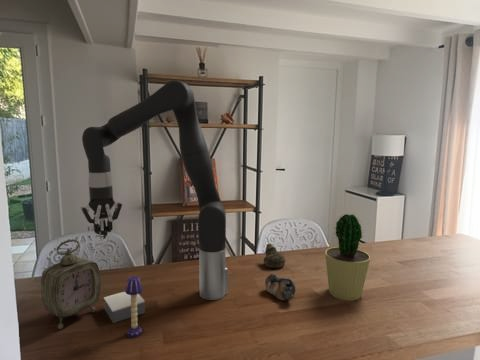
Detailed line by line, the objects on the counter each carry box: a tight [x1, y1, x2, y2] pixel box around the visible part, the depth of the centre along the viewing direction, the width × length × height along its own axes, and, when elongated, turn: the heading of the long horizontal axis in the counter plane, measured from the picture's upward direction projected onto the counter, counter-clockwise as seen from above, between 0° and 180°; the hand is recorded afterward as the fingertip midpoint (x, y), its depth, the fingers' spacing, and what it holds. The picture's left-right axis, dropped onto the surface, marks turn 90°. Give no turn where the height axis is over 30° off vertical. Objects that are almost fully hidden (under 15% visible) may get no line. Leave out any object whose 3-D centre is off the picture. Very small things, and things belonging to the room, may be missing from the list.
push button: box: [93, 212, 109, 240], centre depth 116 cm, size 7×5×10 cm
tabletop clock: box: [40, 239, 101, 330], centre depth 100 cm, size 14×9×25 cm, turn 148°
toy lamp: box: [124, 275, 144, 338], centre depth 93 cm, size 5×5×17 cm
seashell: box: [263, 243, 286, 269], centre depth 143 cm, size 11×12×10 cm
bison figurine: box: [264, 273, 297, 302], centre depth 116 cm, size 12×7×10 cm
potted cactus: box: [324, 213, 371, 302], centre depth 118 cm, size 15×15×30 cm
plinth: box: [103, 291, 146, 324], centre depth 106 cm, size 10×10×4 cm
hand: (103, 232), depth 117 cm, fingers closed on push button, 3 cm apart
